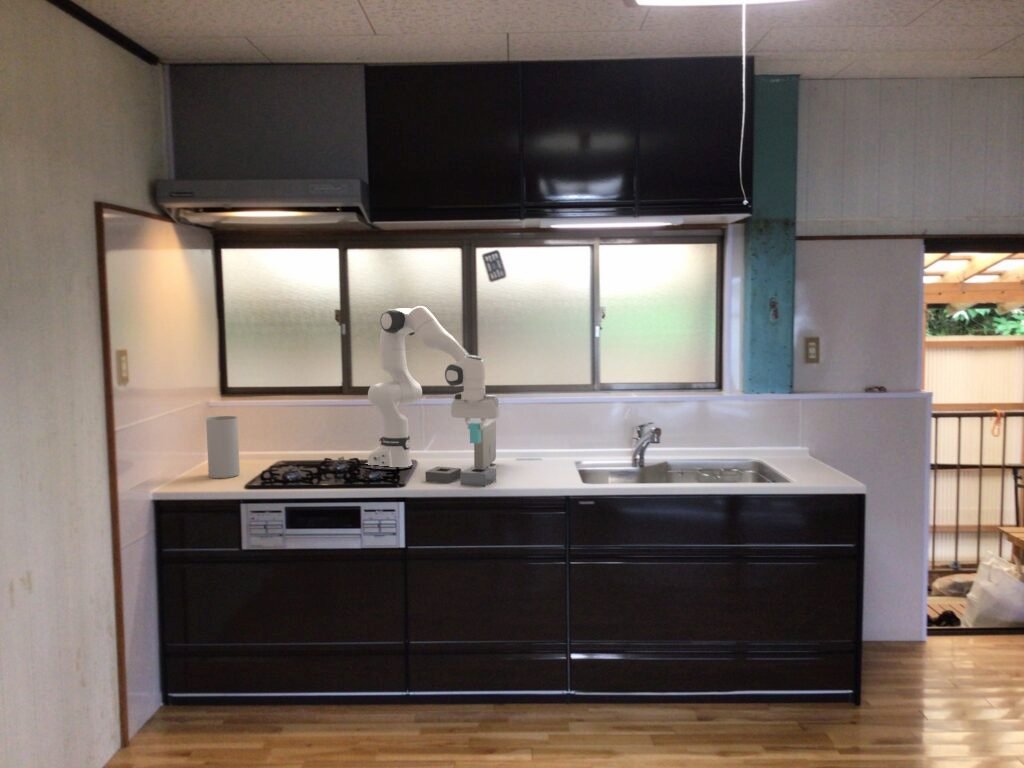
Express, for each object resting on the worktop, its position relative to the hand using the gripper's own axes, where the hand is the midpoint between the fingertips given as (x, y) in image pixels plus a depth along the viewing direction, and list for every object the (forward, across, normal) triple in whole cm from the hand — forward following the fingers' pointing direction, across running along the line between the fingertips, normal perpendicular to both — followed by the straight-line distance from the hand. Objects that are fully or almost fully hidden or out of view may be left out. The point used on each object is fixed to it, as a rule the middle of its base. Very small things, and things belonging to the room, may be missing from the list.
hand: (475, 428), depth 313 cm
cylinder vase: (+20, +107, +27) cm, 112 cm away
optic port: (+22, 0, 0) cm, 22 cm away
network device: (+22, +8, -26) cm, 35 cm away
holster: (+22, +16, 0) cm, 27 cm away
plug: (+6, 0, 0) cm, 6 cm away
